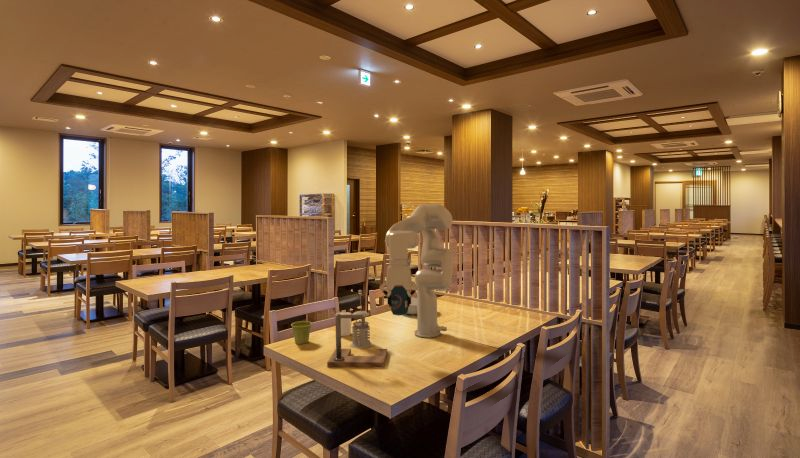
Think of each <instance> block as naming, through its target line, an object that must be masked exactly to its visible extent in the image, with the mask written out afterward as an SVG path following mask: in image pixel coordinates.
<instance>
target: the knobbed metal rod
mask: <svg viewBox="0 0 800 458" xmlns="http://www.w3.org/2000/svg"><path fill="white" fill-rule="evenodd" d="M341 318H351V319H360V320H361V322H362V325H365V322H366V317H363V315H352V314H351V315H340V314H336V313H335V314H334V319H335V320H334V321H335V349H336V357H334V361H342V360H344V357H342V356H341V349H342V336H341Z"/></svg>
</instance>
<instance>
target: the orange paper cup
mask: <svg viewBox="0 0 800 458" xmlns="http://www.w3.org/2000/svg"><path fill="white" fill-rule="evenodd" d="M335 314H340V315H352V313H351V312H347V311H340V312H337V313H335ZM351 328H352V318H341V337H347V336H350V335H351V333H352V332H351V331H352V329H351Z"/></svg>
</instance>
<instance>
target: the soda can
mask: <svg viewBox="0 0 800 458" xmlns="http://www.w3.org/2000/svg"><path fill="white" fill-rule="evenodd" d="M390 295H391V307H390V311H391V313H392V315H393V316H406V315H408V314H407V312H408V306H407V297H408V294H407V291H406V289H405V288H404V287H403V286H394V288H393V289H392V291H391V294H390Z"/></svg>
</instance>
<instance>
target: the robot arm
mask: <svg viewBox="0 0 800 458" xmlns="http://www.w3.org/2000/svg"><path fill="white" fill-rule="evenodd" d="M452 225H453V215H452V213H451V212H450V211H449V210H448V209H447V208H446V206H444V205H442V204H440V203H426V204H425V203H423V204H419V205H418V206H417V207H416V208H415V209H414V211H413V212H412V213H411V214H410V216H409V217H407V218H405V219H403V220H400V221H398V222H396V223H393V224H392V226H391V227H390V228H389V229H388V231H387V232H386V233H385V237H384V239H385V244H386V246H387V247H388V252H389V253H388V259H389V261H388V262H389V263H388V264H389V265H387V270H386V281H385V282H384V283H382V284H381V285H380V286H379V289H380V291H381V292H382V293H383V294H384V295H385V296H386V297H387V305H388V307H389V308H391V291H392V289H393V288H394V286H403V287H404V288H405V289H406V291H407V294H408V297H407V306H408V307H409V304H411V298H412V296H413V295H414V294H415V293H416V298H417V314H416V316H417V329H416V330H414V333H413V334H414V336H416V337H420V338H424V339H425V338H428V339H429V338H436V337H439V336H440V335H441V332H447V330H448V328H447V326H444V325H439V324H438V298H437V295H436V293H435V292H434V290H436V291H437V290H438V291H447V290H449V289H450V288H451V285H452V279H453V270H454V269H453V268H454V253H453V251H452V250H451V249H450V248H444V247H443V248H442V247H440V246H441V238H440V236H439V235H438V233H437V232H436V231H435V230H448V229H450V228H451V227H452ZM419 233H421V234H422V248H421V255H420V264H421V265H422V266H423V267H426V268H422V269H419V270H417V271H416V272H415V274H414V281H413V280H412V269H411V266H410V265H409V264H412V259H409V257H408V256H409V255H408V254H409V253H408V252H409V251H408V250H411V249H415V248H416V247H418V245H419V244H420V236H419ZM429 268H430V269H429ZM432 268H434V269H432ZM435 268H437V269H435ZM385 287H386V289H385ZM412 287H414V288H413V289H412ZM411 289H412V290H411ZM387 290H388V291H387Z"/></svg>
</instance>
